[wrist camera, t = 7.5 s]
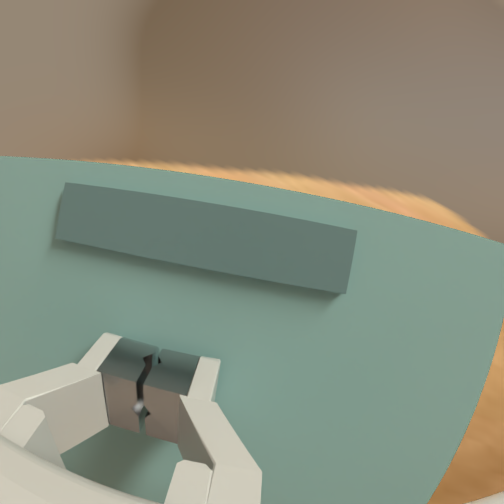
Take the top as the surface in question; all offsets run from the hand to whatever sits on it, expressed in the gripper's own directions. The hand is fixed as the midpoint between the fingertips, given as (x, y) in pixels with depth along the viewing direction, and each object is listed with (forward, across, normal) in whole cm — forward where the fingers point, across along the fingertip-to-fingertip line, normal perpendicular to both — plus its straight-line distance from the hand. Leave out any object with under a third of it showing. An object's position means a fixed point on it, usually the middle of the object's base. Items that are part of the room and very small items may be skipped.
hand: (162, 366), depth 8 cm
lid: (+1, 0, +1) cm, 2 cm away
